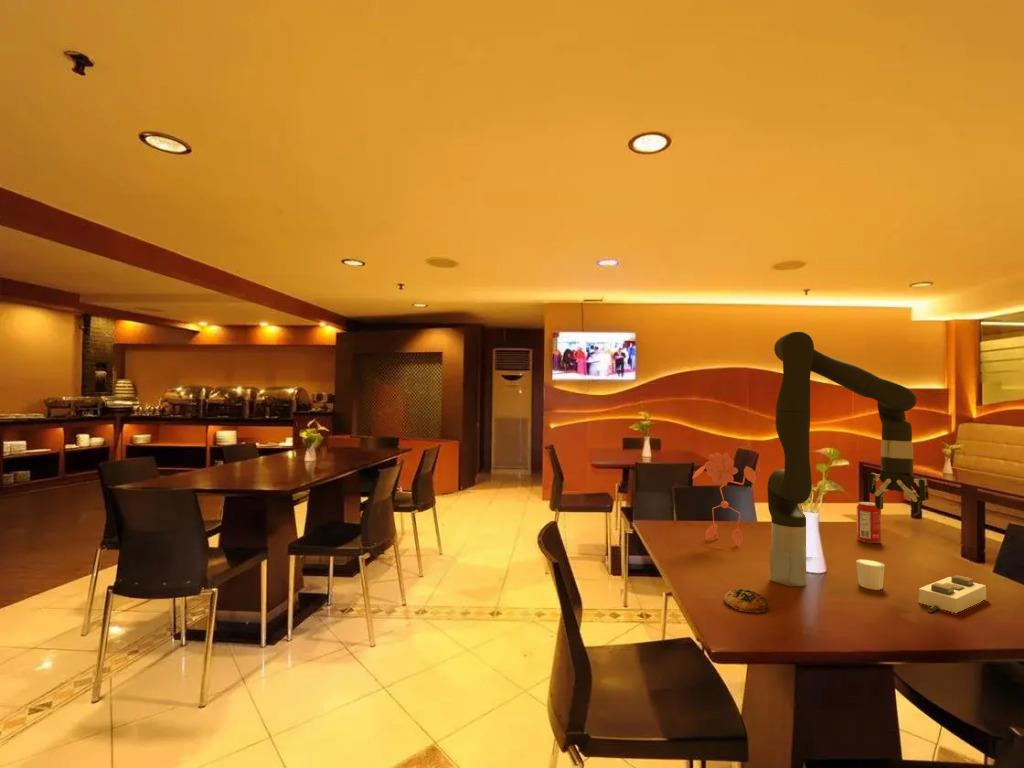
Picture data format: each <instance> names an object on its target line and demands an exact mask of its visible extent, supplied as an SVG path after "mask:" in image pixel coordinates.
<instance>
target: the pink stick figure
mask: <svg viewBox="0 0 1024 768" xmlns="http://www.w3.org/2000/svg"><path fill="white" fill-rule="evenodd" d="M708 459H709V461H706V462H705V464H704V465H702V466H700V467H699V468H698V469H697V470H696V471H695V473H694V474H693V476H692V477H691V478H692V480H695V478H697V477H699V476H700V475H701V474H702V473H703V472H704V471H705V470H706V475H707V476H710V477H711V480H712V482H713V483H715V484H722V485H721V486H720V487H719V491H720V494H721V498H722V501H721V503H720V504H719V505H717V506H715V507H712V523H713V524H711V525H710V526H709V527H708V528H707V530H706V532H705V535H704V536H705V539H707V540H710V539H711V538H713V537H714V536H716V539H717V538H718V539H719V536H718V532H717V531H718V525H717V524H716V523H715V517H714V509H716V508H719V507H721V508H723V509H728V508H729V509H731V511H734V512H736V513H738V514H739V515H738V521H737V527H736V528H735V529H734V530H733V531H732V536H731V538H732V541H733V542H734V543H735V545H736V546H737V547H738V546H739V547H740V546H741V545H742V543H743V541H744V536H743V533H742V531H741V530H740V529H739V526H740V522H741V515H742V514H741V512H739V511H737V510H736V509H734V508H733V507H730V506H729V502H727V501H725V498H724V494H723V491H722V488H723V487H724V486H726V485H728V483H732V484H736V485H741V486H744V484H745V480H747V481H749V482H751V483H752V484H755V483H756V479H757V474H756V472H755V470H754V469H753V468H752V467H749V466H748V465H746V466H745V468H744V469H743V480H742V482H738V481H734V480H735V479H734V478H735V477H734V476H735V475H736V474H738V473H739V469H738V467H736V466H734V465H735V460H733V459H731V456H730V454H729V453H728V452H724V453H723V455H722V454H721V453H719V452H717V451H716V452H714V454H711V453H710V454H708Z"/></svg>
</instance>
